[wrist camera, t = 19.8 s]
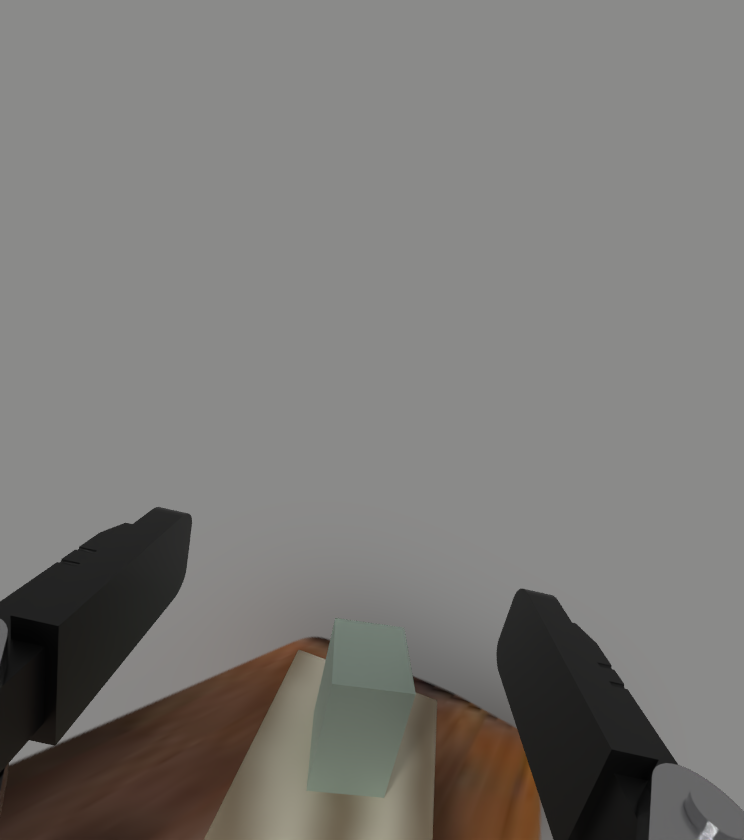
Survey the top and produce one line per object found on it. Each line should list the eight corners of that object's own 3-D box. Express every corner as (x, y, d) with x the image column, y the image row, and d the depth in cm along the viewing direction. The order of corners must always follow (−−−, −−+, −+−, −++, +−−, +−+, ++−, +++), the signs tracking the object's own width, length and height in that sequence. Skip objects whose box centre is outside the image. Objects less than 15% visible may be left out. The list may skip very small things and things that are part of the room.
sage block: (306, 790, 26) (331, 683, 24) (313, 711, 32) (335, 618, 30) (383, 797, 27) (415, 694, 25) (378, 718, 32) (404, 627, 30)
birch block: (193, 905, 24) (203, 839, 23) (288, 697, 39) (298, 649, 37) (403, 1009, 22) (428, 944, 21) (421, 748, 37) (437, 700, 35)
